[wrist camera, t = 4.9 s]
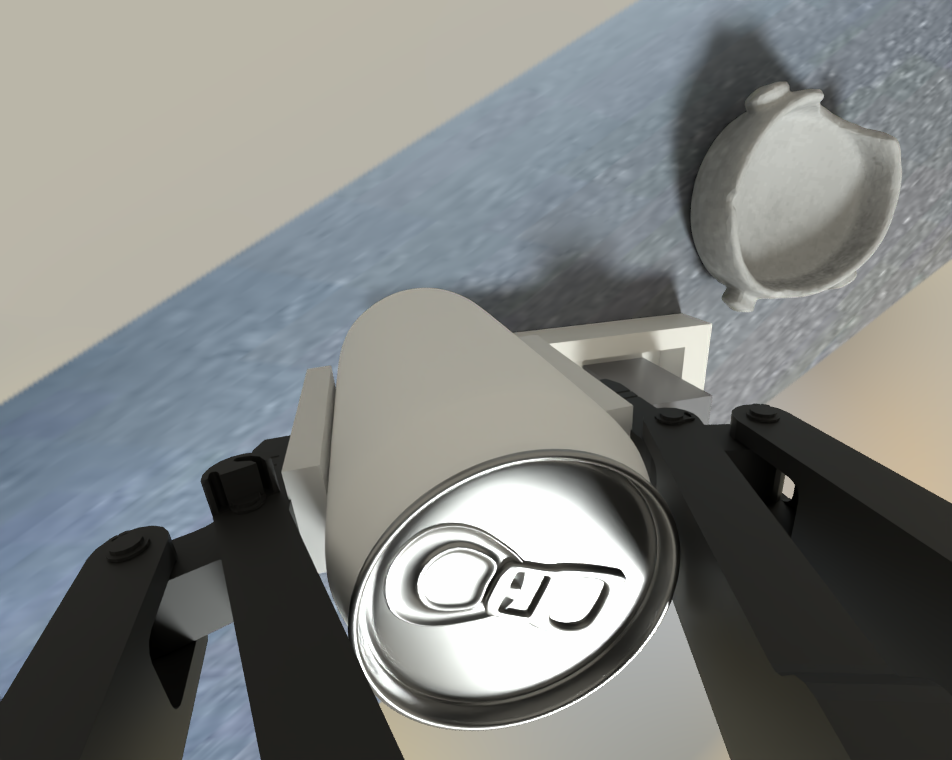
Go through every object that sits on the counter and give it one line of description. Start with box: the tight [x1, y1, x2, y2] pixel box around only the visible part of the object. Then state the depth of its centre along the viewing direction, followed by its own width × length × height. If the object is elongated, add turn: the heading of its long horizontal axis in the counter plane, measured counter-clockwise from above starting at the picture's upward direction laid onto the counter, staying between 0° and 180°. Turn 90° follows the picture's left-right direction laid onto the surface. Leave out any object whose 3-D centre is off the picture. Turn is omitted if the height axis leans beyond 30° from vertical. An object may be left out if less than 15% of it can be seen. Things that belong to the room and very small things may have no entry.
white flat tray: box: [513, 313, 712, 390], centre depth 36 cm, size 22×11×4 cm, turn 93°
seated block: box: [583, 357, 712, 425], centre depth 33 cm, size 5×5×11 cm
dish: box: [691, 82, 902, 312], centre depth 34 cm, size 14×14×5 cm
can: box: [325, 288, 681, 731], centre depth 13 cm, size 6×6×12 cm
